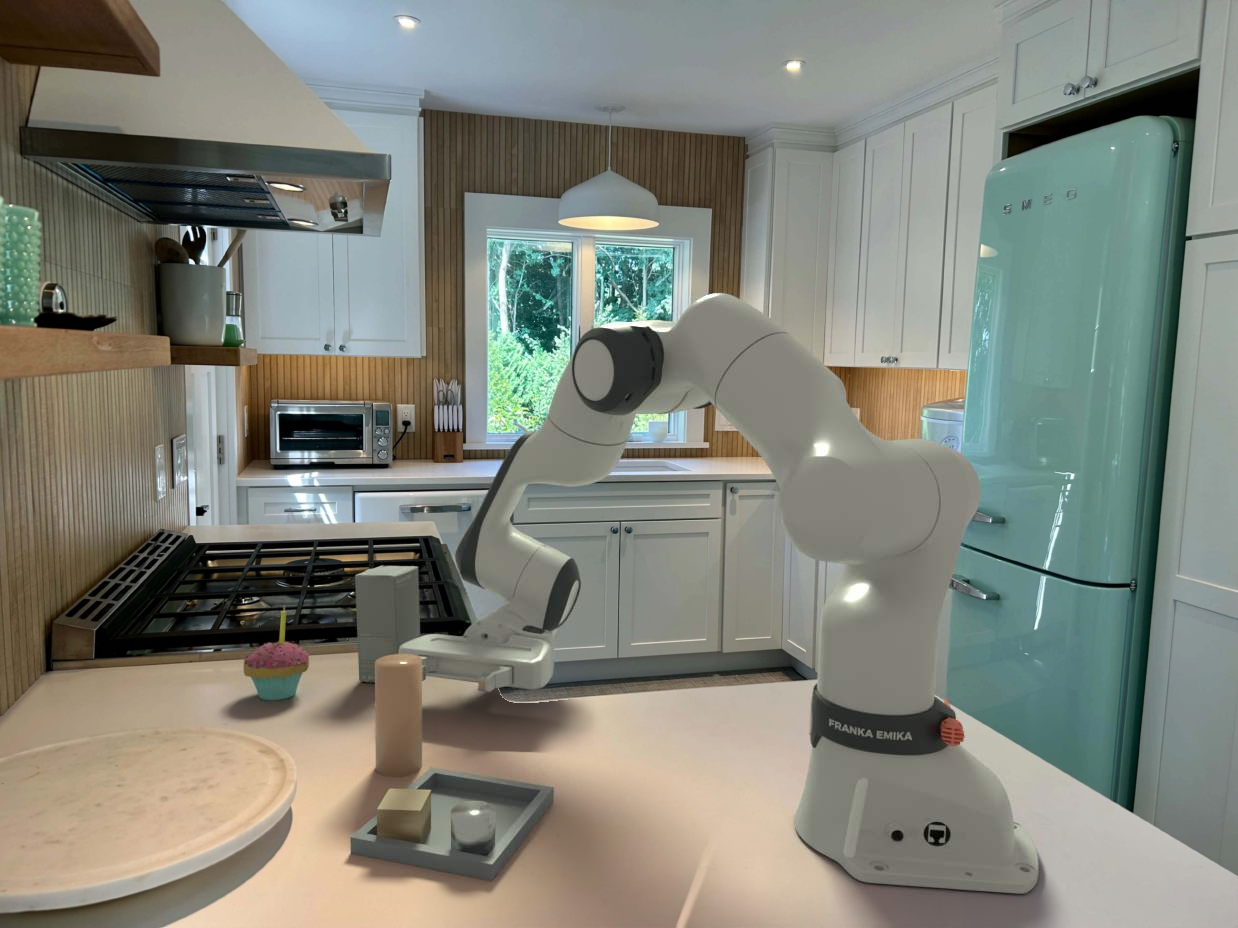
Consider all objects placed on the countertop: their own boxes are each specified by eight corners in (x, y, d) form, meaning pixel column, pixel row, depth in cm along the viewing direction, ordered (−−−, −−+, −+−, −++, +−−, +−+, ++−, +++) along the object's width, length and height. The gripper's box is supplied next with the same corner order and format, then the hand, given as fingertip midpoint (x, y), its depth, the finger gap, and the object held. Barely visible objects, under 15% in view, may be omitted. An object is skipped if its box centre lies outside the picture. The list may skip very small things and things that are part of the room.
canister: (430, 768, 100) (430, 656, 98) (407, 788, 95) (407, 671, 94) (390, 762, 101) (390, 651, 100) (366, 781, 96) (365, 665, 95)
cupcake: (265, 681, 126) (264, 599, 125) (322, 685, 125) (320, 602, 124) (231, 703, 117) (229, 615, 116) (291, 708, 116) (289, 619, 115)
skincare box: (399, 686, 125) (398, 577, 123) (352, 682, 126) (351, 573, 125) (424, 667, 133) (423, 564, 132) (380, 663, 135) (379, 561, 133)
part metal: (502, 845, 82) (502, 804, 82) (483, 868, 78) (483, 825, 78) (463, 838, 83) (463, 797, 83) (442, 860, 79) (442, 817, 79)
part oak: (431, 829, 85) (431, 789, 84) (420, 852, 81) (420, 810, 80) (389, 828, 85) (389, 788, 84) (377, 850, 81) (376, 808, 80)
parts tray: (553, 810, 91) (553, 787, 91) (492, 891, 76) (492, 864, 76) (430, 789, 95) (430, 767, 94) (350, 863, 80) (350, 836, 80)
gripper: (427, 617, 124) (372, 646, 111) (564, 632, 118) (524, 664, 105) (427, 661, 125) (373, 695, 111) (563, 678, 119) (524, 715, 106)
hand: (447, 680), depth 108 cm, fingers open, 8 cm apart
